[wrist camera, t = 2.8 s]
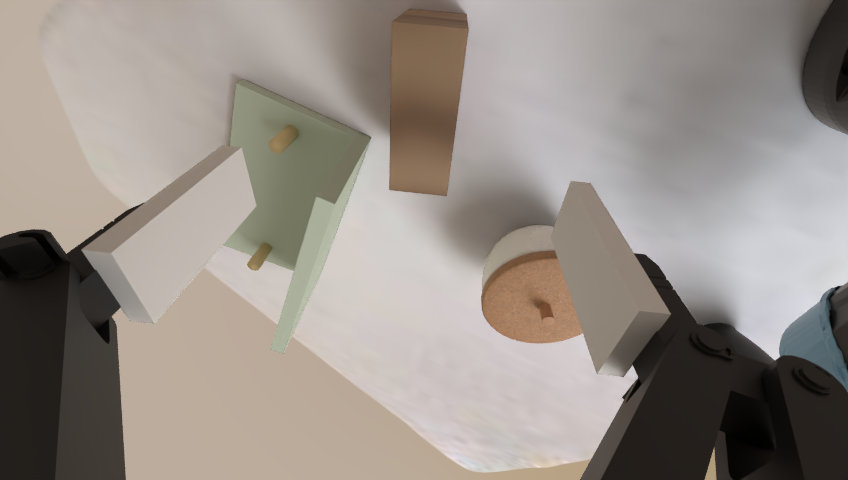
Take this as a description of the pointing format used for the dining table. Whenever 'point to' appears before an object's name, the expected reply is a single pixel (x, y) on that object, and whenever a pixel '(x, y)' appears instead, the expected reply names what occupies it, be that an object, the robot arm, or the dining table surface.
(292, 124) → the ledge
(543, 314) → the lidded jar
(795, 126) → the dining table surface
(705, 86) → the dining table surface
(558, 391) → the dining table surface
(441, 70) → the brown tapered block
